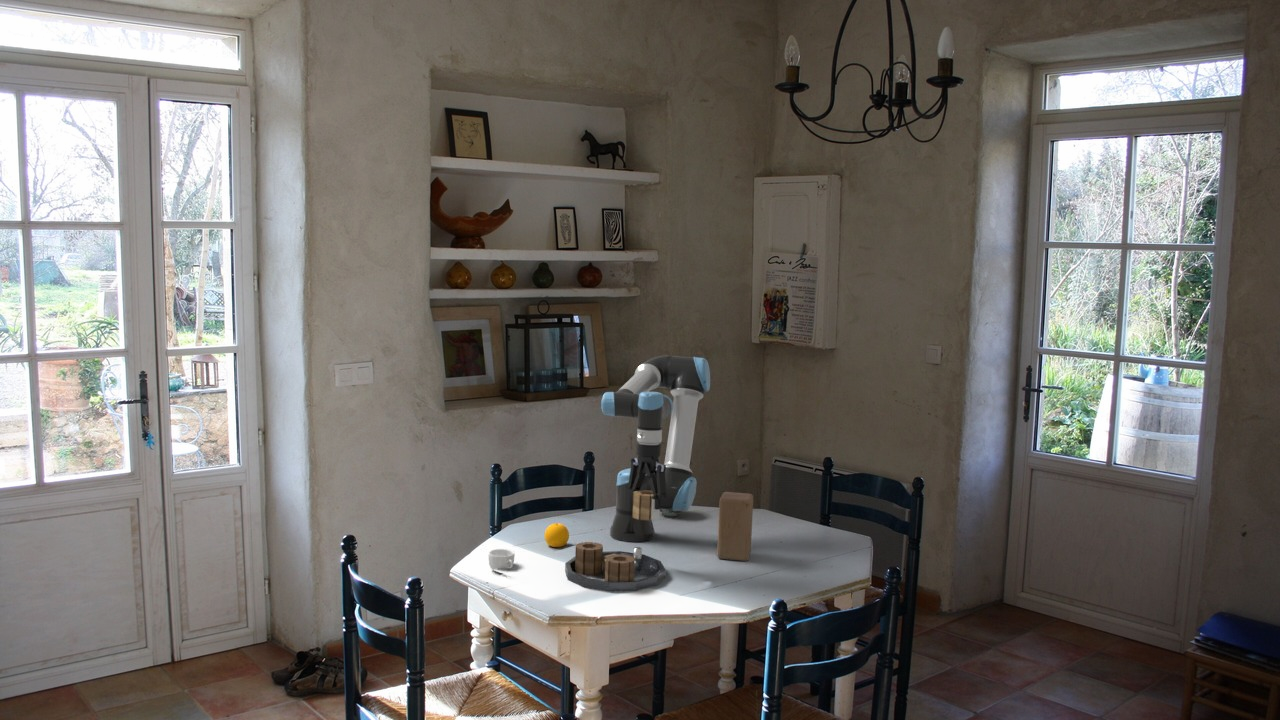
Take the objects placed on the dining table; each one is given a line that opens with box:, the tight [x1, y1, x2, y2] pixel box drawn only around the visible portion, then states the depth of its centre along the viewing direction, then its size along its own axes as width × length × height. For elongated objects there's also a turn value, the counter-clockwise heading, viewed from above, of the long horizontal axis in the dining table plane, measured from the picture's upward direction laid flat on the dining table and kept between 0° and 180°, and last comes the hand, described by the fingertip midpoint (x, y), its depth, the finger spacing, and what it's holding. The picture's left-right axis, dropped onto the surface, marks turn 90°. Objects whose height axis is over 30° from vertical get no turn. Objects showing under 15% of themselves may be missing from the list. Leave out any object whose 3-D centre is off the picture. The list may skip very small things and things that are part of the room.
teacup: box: [488, 548, 515, 573], centre depth 295 cm, size 10×8×5 cm
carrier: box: [564, 546, 666, 593], centre depth 291 cm, size 29×29×8 cm
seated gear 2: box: [605, 554, 635, 581], centre depth 282 cm, size 8×8×8 cm
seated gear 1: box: [574, 541, 604, 575], centre depth 294 cm, size 8×8×8 cm
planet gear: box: [632, 490, 658, 520], centre depth 301 cm, size 8×8×8 cm
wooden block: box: [716, 491, 754, 562], centre depth 317 cm, size 10×10×20 cm
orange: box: [544, 522, 570, 548], centre depth 322 cm, size 8×8×8 cm
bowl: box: [660, 509, 683, 518], centre depth 365 cm, size 14×13×8 cm
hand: (645, 516), depth 301 cm, fingers closed on planet gear, 8 cm apart
